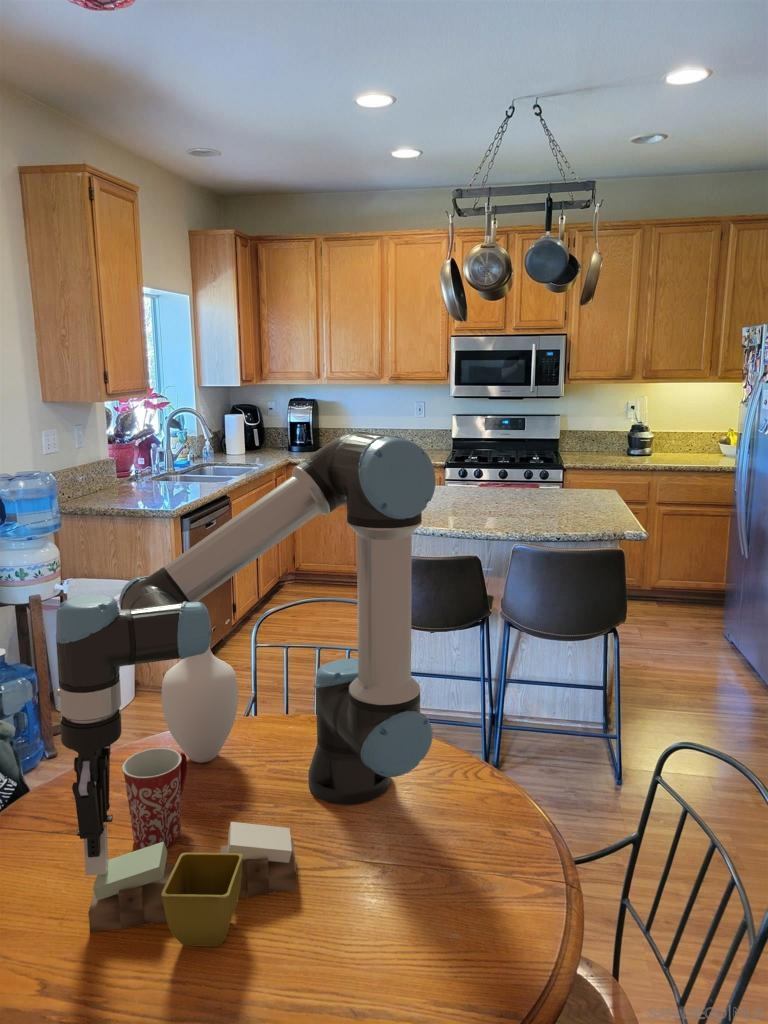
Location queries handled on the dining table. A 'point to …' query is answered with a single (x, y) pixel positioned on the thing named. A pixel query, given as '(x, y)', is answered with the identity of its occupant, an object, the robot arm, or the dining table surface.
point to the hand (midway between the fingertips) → (97, 871)
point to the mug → (155, 795)
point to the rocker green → (132, 870)
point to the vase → (200, 704)
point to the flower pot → (202, 897)
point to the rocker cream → (260, 841)
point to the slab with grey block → (130, 906)
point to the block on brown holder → (267, 875)
